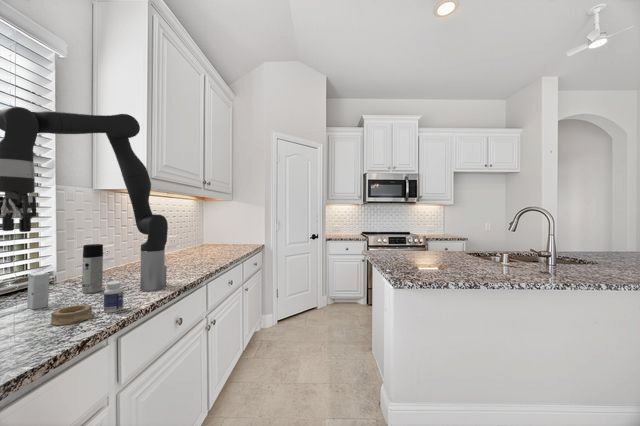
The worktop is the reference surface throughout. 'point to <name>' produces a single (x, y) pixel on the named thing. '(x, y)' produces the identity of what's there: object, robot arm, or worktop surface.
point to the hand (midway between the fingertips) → (16, 231)
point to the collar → (71, 314)
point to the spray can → (92, 268)
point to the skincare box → (38, 290)
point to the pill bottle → (113, 297)
